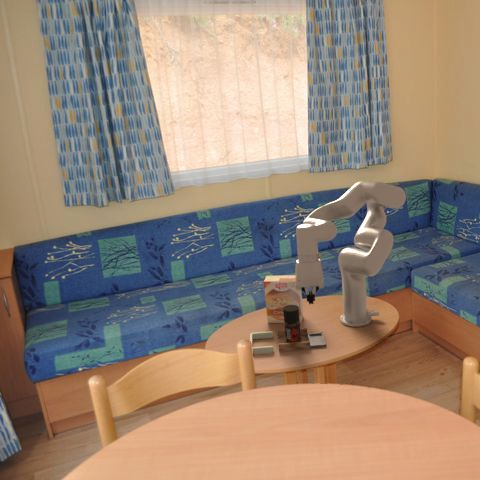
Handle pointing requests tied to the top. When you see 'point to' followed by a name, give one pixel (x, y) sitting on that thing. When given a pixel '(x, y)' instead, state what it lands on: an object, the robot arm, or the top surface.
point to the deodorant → (292, 323)
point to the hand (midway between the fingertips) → (311, 302)
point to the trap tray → (316, 340)
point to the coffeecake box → (281, 297)
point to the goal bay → (260, 336)
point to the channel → (293, 345)
